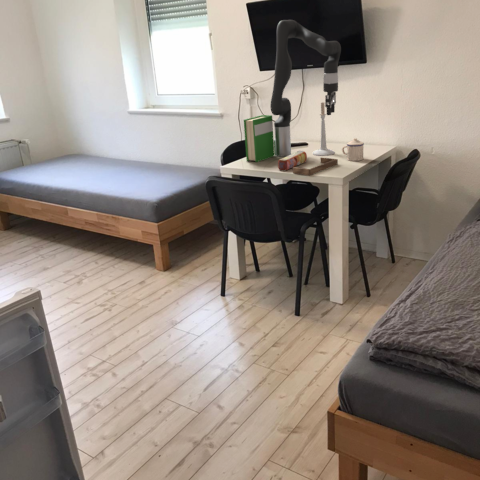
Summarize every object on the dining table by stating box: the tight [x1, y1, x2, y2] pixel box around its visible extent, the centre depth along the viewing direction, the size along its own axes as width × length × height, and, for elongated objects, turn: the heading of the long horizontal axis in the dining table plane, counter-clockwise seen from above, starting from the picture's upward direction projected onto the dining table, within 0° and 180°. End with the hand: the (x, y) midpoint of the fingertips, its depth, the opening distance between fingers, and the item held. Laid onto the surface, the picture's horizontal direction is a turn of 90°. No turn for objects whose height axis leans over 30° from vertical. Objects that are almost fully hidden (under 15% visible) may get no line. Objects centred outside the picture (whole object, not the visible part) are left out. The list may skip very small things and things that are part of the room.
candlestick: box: [312, 101, 335, 157], centre depth 302 cm, size 13×13×30 cm
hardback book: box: [243, 114, 275, 163], centre depth 303 cm, size 18×7×24 cm, turn 141°
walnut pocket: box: [292, 157, 339, 176], centre depth 272 cm, size 10×26×3 cm, turn 137°
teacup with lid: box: [341, 137, 365, 162], centre depth 285 cm, size 12×9×12 cm
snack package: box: [277, 150, 308, 171], centre depth 282 cm, size 21×7×7 cm, turn 144°
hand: (330, 113), depth 275 cm, fingers open, 8 cm apart
